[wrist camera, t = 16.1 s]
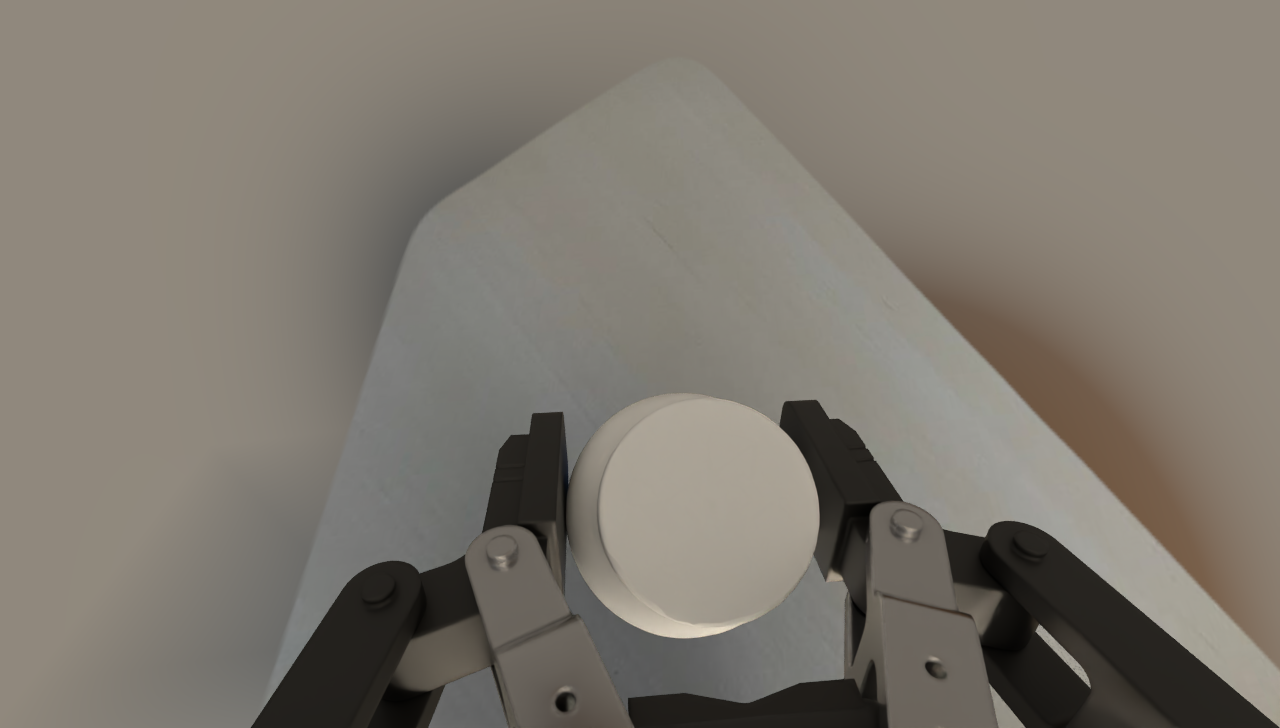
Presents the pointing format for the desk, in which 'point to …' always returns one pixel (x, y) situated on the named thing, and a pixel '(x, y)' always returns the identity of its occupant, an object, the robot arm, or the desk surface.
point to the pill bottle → (691, 515)
